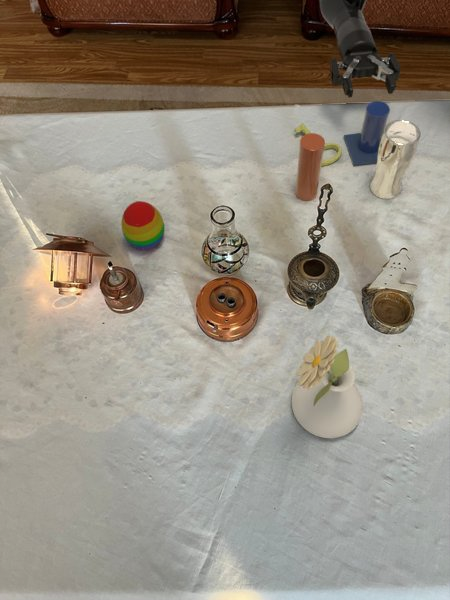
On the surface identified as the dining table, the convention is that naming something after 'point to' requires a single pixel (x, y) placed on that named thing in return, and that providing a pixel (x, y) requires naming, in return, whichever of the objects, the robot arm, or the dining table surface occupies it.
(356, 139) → the blue tile
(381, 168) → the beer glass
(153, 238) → the decorative egg
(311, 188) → the terracotta pillar
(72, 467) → the dining table surface
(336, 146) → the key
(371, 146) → the blue canister
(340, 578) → the dining table surface
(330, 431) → the flower in vase
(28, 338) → the dining table surface
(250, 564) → the dining table surface
